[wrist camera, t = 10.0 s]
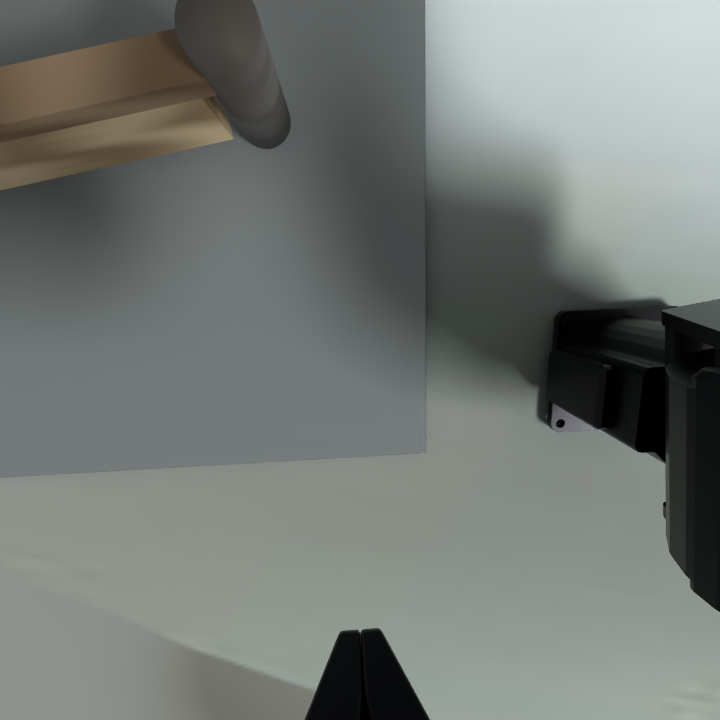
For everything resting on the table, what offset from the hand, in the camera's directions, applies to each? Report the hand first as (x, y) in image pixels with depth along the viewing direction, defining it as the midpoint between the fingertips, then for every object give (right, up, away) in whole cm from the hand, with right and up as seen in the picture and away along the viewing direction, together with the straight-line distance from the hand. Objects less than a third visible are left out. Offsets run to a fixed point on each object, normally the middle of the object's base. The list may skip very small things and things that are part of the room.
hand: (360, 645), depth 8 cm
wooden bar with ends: (-11, +15, +9) cm, 20 cm away
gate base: (-9, +11, +11) cm, 17 cm away
